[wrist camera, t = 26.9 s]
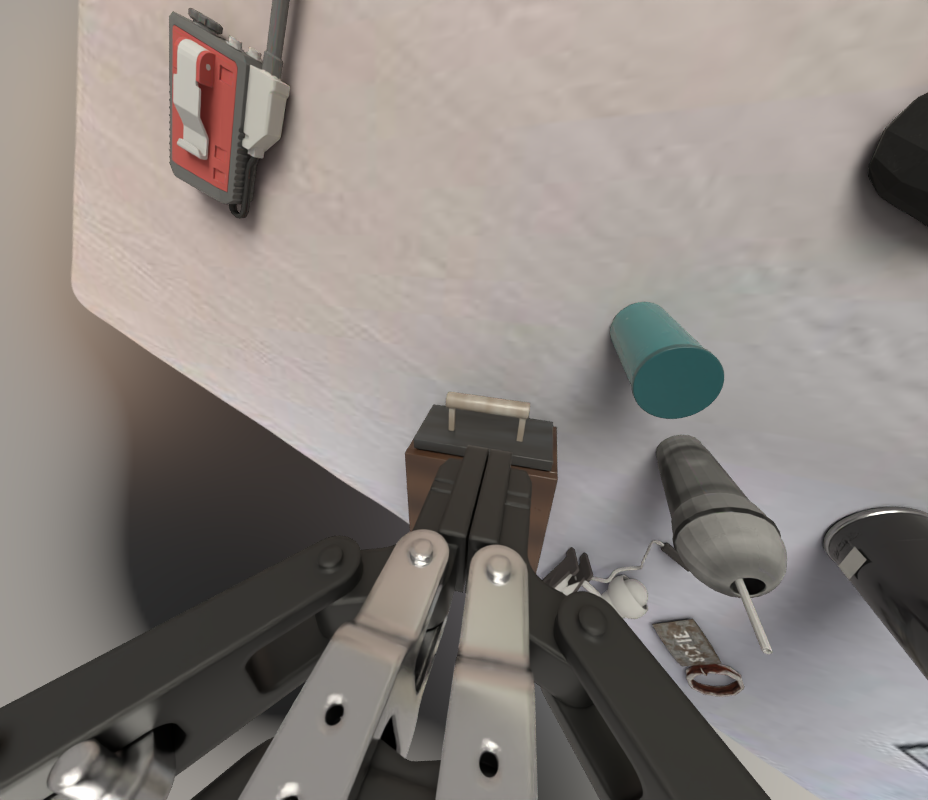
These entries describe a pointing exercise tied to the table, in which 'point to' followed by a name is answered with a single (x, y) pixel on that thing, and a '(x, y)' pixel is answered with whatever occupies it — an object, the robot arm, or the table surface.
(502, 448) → the drawer
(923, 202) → the gaming mouse
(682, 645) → the keychain
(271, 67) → the walkie-talkie
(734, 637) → the table surface
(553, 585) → the clip-on lamp
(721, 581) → the beverage cup
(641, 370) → the tin
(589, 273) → the table surface
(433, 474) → the cabinet
